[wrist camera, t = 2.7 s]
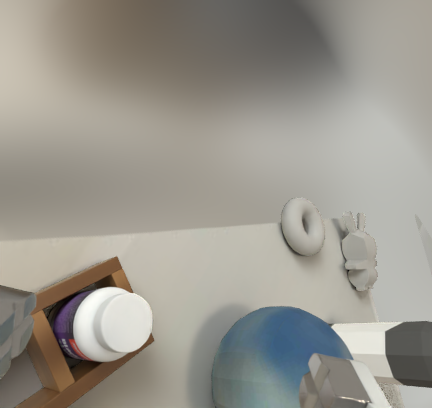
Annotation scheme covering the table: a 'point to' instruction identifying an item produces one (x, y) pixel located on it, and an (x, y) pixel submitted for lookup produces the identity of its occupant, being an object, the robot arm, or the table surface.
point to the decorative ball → (270, 357)
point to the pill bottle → (101, 324)
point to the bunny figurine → (359, 253)
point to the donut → (293, 228)
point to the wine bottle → (392, 350)
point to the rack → (50, 351)
